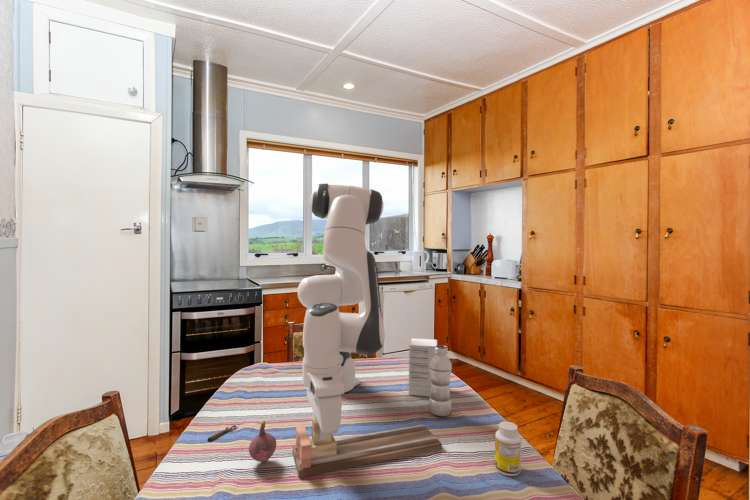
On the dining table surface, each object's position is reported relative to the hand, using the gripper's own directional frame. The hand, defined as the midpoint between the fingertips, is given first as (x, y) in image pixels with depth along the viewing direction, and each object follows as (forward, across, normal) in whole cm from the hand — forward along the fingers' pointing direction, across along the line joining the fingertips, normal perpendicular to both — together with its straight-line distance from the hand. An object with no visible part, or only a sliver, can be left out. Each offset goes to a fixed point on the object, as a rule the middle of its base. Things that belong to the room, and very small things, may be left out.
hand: (321, 433), depth 89 cm
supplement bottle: (+6, +17, +39) cm, 43 cm away
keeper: (+5, 0, 0) cm, 5 cm away
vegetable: (+6, -3, -13) cm, 15 cm away
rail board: (+6, 0, +12) cm, 13 cm away
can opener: (+7, -20, -22) cm, 30 cm away
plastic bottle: (+6, -12, +38) cm, 40 cm away
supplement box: (+7, -29, +41) cm, 51 cm away
